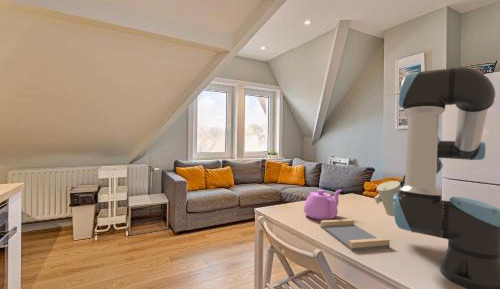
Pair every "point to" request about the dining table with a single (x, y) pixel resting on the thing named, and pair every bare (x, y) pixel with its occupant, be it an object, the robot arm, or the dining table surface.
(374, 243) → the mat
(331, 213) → the teapot
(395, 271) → the dining table surface
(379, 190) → the can
